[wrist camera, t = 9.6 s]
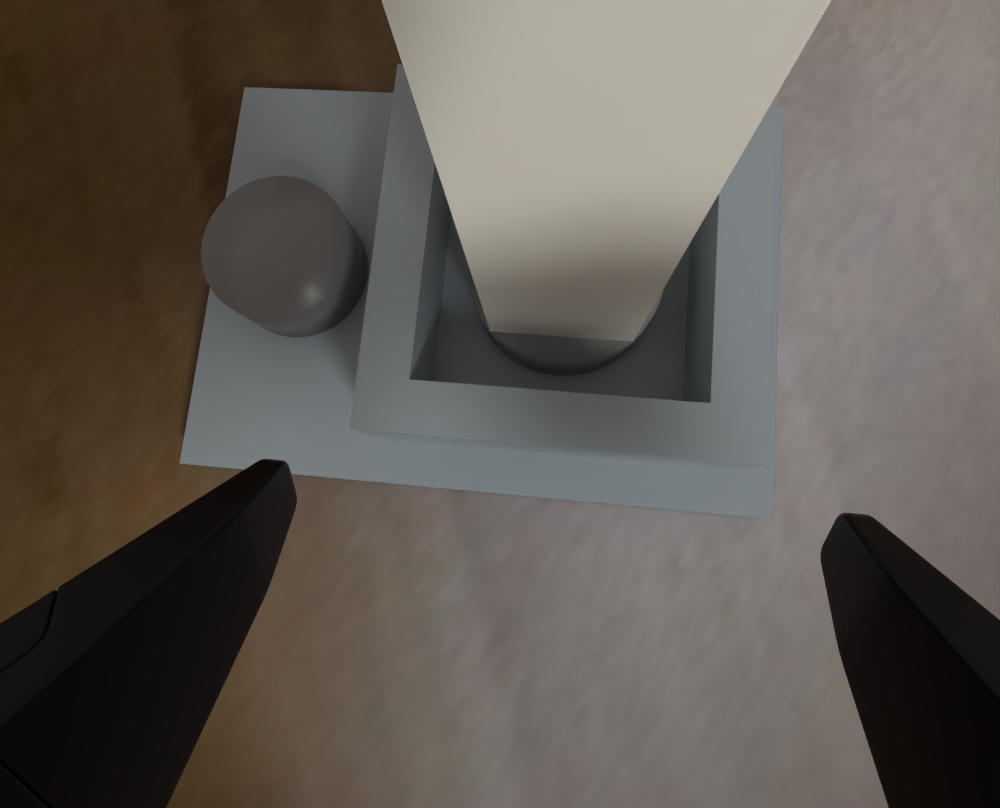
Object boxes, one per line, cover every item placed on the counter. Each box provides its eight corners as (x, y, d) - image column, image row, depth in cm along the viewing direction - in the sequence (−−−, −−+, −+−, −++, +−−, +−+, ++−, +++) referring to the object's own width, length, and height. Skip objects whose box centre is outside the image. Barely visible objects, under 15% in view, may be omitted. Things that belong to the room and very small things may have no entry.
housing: (760, 517, 18) (822, 524, 14) (198, 464, 19) (109, 457, 15) (770, 126, 20) (828, 34, 16) (258, 106, 21) (193, 17, 17)
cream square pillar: (650, 382, 18) (934, 83, 5) (466, 368, 18) (280, 63, 5) (660, 209, 18) (925, -444, 6) (484, 199, 19) (359, -420, 6)
